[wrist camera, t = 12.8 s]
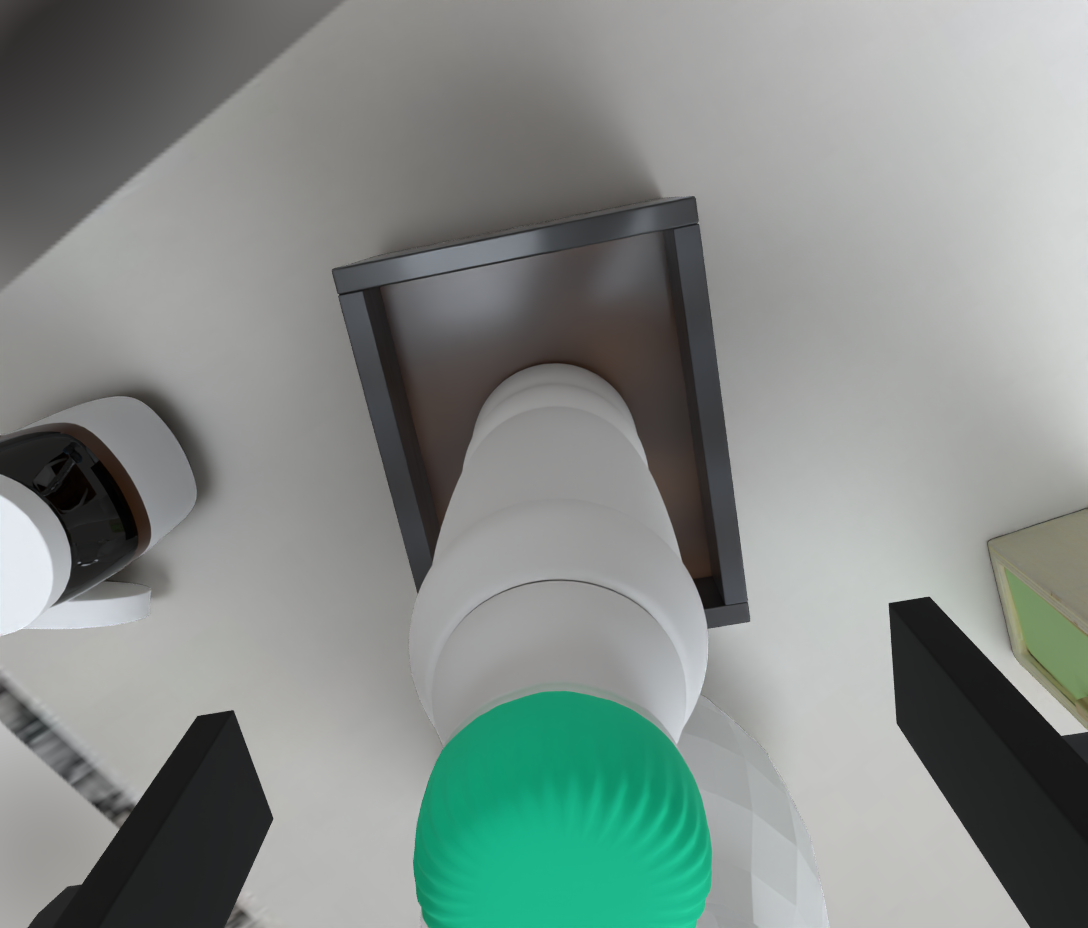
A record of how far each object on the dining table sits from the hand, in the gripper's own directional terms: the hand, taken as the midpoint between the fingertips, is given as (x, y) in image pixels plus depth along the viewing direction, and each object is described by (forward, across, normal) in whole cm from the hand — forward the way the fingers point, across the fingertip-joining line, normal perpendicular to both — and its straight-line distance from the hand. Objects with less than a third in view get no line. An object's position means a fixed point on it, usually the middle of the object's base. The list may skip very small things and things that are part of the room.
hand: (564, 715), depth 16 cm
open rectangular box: (+27, 0, 0) cm, 27 cm away
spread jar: (+27, -24, -1) cm, 36 cm away
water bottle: (+21, 0, 0) cm, 21 cm away
